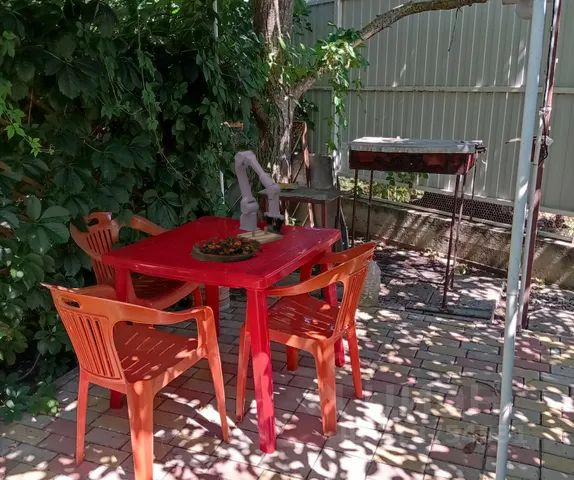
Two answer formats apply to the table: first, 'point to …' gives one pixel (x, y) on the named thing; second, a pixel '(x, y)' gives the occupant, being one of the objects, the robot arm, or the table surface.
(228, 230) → the table surface
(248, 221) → the robot arm
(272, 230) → the jaw block
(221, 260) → the food dish
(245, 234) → the base plate
